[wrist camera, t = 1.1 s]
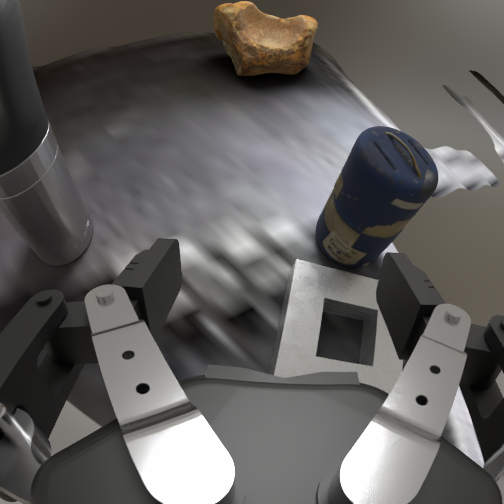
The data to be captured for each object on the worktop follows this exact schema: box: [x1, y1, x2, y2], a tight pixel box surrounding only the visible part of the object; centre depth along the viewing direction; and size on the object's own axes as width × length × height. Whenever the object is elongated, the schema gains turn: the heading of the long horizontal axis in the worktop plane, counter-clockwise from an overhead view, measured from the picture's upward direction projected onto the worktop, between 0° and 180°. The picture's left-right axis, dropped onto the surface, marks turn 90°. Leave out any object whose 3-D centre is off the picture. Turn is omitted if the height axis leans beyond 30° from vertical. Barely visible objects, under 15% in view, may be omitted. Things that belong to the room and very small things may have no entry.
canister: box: [316, 126, 438, 268], centre depth 34 cm, size 10×10×18 cm
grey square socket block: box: [268, 259, 403, 394], centre depth 33 cm, size 14×14×4 cm
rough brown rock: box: [213, 1, 318, 76], centre depth 56 cm, size 23×17×15 cm
